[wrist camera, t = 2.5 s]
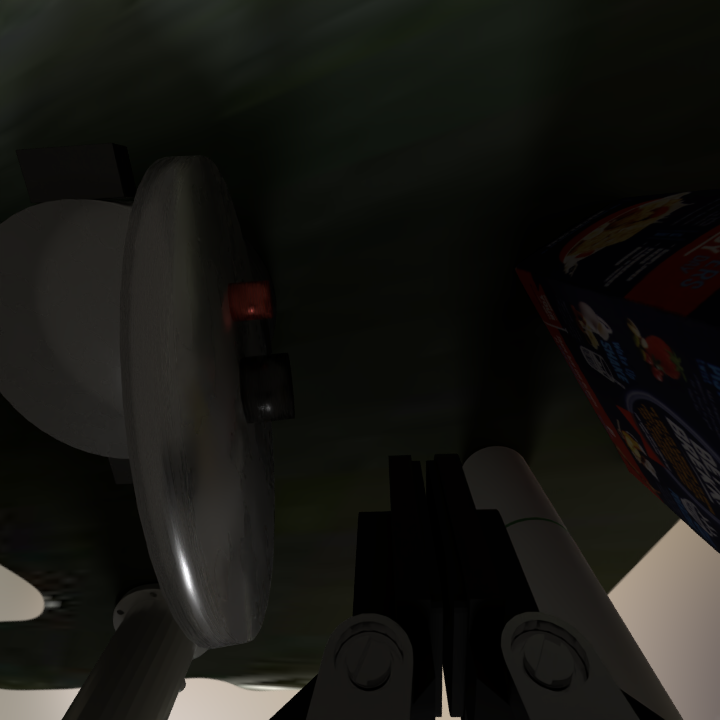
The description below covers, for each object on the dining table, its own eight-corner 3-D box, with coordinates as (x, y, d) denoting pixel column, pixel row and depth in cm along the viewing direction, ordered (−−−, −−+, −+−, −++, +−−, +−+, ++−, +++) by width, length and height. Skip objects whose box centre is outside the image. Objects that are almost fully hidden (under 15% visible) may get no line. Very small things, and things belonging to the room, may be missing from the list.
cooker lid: (263, 460, 31) (306, 454, 31) (218, 796, 13) (321, 773, 13) (218, 179, 24) (274, 177, 25) (12, 81, 7) (220, 76, 7)
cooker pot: (306, 415, 43) (281, 488, 31) (120, 422, 44) (32, 496, 32) (276, 156, 35) (230, 130, 23) (49, 172, 36) (-100, 154, 24)
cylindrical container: (447, 485, 45) (528, 784, 22) (485, 434, 43) (621, 706, 19) (502, 512, 46) (637, 826, 23) (541, 464, 44) (737, 757, 20)
